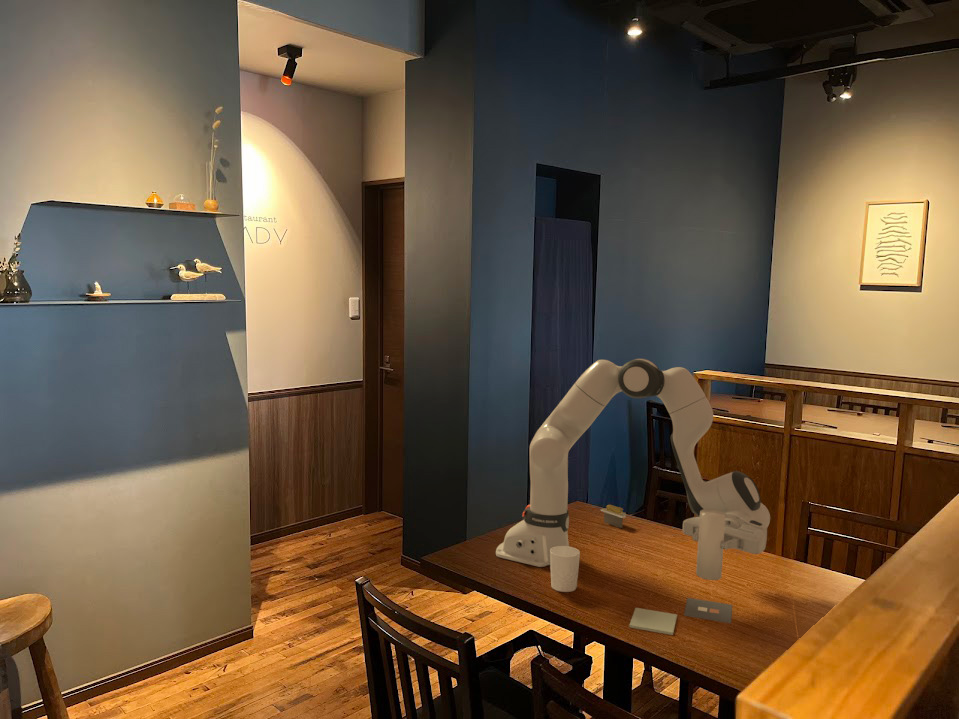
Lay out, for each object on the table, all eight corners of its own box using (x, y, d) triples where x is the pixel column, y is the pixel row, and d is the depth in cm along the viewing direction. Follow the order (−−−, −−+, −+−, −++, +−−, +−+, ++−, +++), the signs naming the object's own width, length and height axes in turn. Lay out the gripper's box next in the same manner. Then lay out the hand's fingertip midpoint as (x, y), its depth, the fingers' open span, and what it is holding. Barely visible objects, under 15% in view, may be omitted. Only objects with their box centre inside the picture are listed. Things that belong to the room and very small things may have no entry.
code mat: (683, 616, 176) (683, 615, 176) (687, 598, 187) (687, 597, 187) (731, 624, 173) (731, 623, 173) (732, 605, 183) (732, 604, 183)
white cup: (561, 578, 198) (562, 543, 197) (584, 587, 192) (585, 551, 191) (543, 586, 193) (544, 550, 192) (566, 596, 187) (567, 558, 186)
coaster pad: (629, 628, 170) (629, 624, 170) (635, 610, 179) (635, 607, 179) (672, 635, 166) (673, 632, 166) (676, 617, 176) (677, 614, 175)
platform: (606, 516, 255) (606, 498, 255) (647, 529, 241) (647, 510, 241) (582, 522, 248) (583, 504, 247) (623, 537, 234) (624, 517, 233)
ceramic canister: (695, 577, 177) (699, 514, 175) (697, 568, 183) (700, 507, 181) (720, 581, 175) (725, 518, 173) (721, 572, 181) (725, 511, 179)
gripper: (697, 508, 194) (671, 519, 184) (773, 527, 180) (750, 540, 170) (695, 530, 195) (670, 542, 185) (771, 551, 181) (748, 565, 171)
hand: (709, 541), depth 177 cm, fingers closed on ceramic canister, 6 cm apart
